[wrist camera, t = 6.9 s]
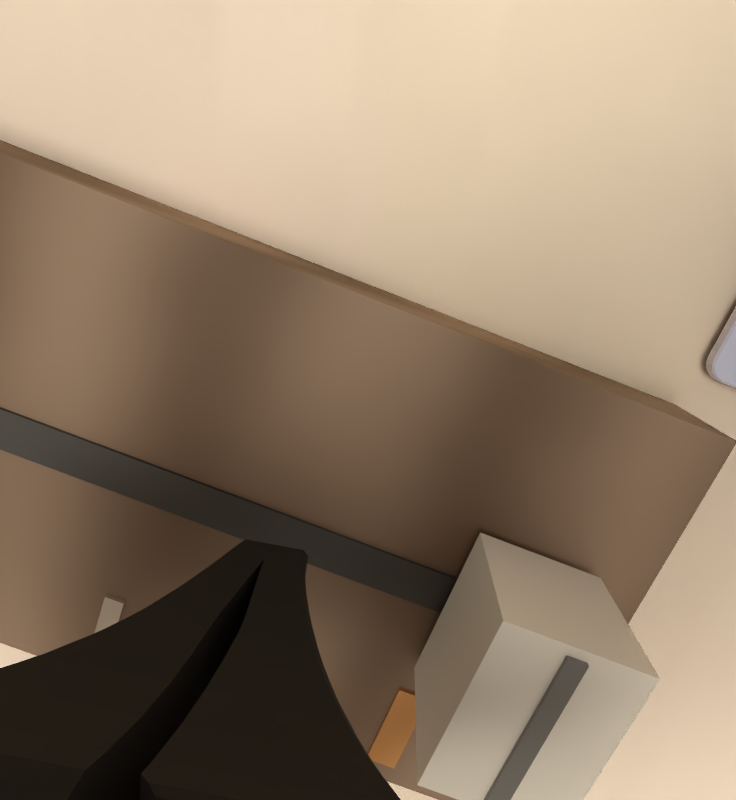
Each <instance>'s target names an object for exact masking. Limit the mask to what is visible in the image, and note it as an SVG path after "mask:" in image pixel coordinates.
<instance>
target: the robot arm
mask: <svg viewBox="0 0 736 800" xmlns="http://www.w3.org/2000/svg"><path fill="white" fill-rule="evenodd" d="M706 370H707V372H708V374H709V375H710V376H711V377H712V378H714V379H715V380H717V381H719V382H721V383H724V384H727V385H729V386H732V387H734V388H736V307H735V309H734V311H733V312H732V314H731V316H730V318H729V319H728V321H727V323H726V325H725V327H724V328H723V330H722V332H721V334H720V336H719V337H718V339H717V341H716V343H715V345H714V346H713V348H712V350H711V352H710V354H709V355H708V358H707V361H706ZM307 562H308V555H307V554H306V552H305V551H304V550H301V549H296V548H290V547H285V546H279V545H274V544H268V543H263V542H258V541H252V540H247V539H245V540H244V541H242V542H241V543H239V544H238V545H236V546H235V547H234V548H232V549H231V550H230V551H228V552H227V553H226V554H224V555H223V556H222V557H220V558H219V559H218V560H216V561H215V562H214V563H212V564H211V565H210V566H208V567H207V568H206V569H204V570H203V571H201V572H200V573H198V574H197V575H196V576H194V577H193V578H191V579H190V580H188V581H187V582H185V583H184V584H183V585H181V586H180V587H178V588H177V589H175V590H173V591H172V592H170V593H169V594H167V595H165V596H164V597H162V598H160V599H159V600H157V601H156V602H154V603H152V604H151V605H149V606H147V607H146V608H144V609H142V610H140V611H139V612H137V613H135V614H133V615H131V616H129V617H127V618H125V619H123V620H121V621H119V622H117V623H115V624H113V625H111V626H109V627H107V628H105V629H103V630H101V631H98V632H96V633H94V634H92V635H89V636H87V637H84V638H82V639H79V640H77V641H74V642H72V643H69V644H67V645H64V646H62V647H59V648H57V649H54V650H52V651H49V652H47V653H45V654H42V655H39V656H36V657H33V658H30V659H27V660H24V661H21V662H18V663H15V664H13V665H10V666H6V667H3V668H0V800H400V798H399V797H398V796H397V794H396V793H395V792H394V791H393V789H392V788H391V787H390V785H389V784H388V783H387V781H386V780H385V779H384V777H383V776H382V775H381V773H380V772H379V770H378V769H377V767H376V766H375V765H374V763H373V762H372V760H371V758H370V757H369V755H368V754H367V752H366V750H365V749H364V747H363V746H362V744H361V742H360V741H359V739H358V737H357V736H356V734H355V732H354V730H353V728H352V726H351V724H350V722H349V720H348V718H347V717H346V715H345V713H344V711H343V709H342V707H341V705H340V703H339V701H338V699H337V697H336V695H335V692H334V690H333V688H332V685H331V683H330V681H329V678H328V675H327V673H326V670H325V667H324V665H323V662H322V659H321V656H320V653H319V650H318V646H317V643H316V639H315V635H314V631H313V628H312V623H311V618H310V613H309V607H308V601H307V594H306V582H305V575H306V568H307Z"/></svg>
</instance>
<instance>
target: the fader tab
mask: <svg viewBox="0 0 736 800" xmlns="http://www.w3.org/2000/svg"><path fill="white" fill-rule="evenodd" d="M414 673H415V716H416V760H417V785H418V786H421V787H424V788H427V789H429V790H432V791H435V792H438V793H441V794H443V795H446V796H449V797H452V798H454V799H457V800H583V799H584V798H585V796H586V795H587V793H588V791H589V790H590V788H591V787H592V785H593V784H594V782H595V780H596V779H597V777H598V776H599V774H600V773H601V771H602V769H603V768H604V766H605V765H606V763H607V762H608V760H609V758H610V757H611V755H612V754H613V752H614V751H615V749H616V747H617V746H618V744H619V743H620V741H621V740H622V738H623V736H624V735H625V733H626V732H627V730H628V729H629V727H630V725H631V724H632V722H633V721H634V719H635V718H636V716H637V714H638V713H639V711H640V710H641V708H642V707H643V705H644V703H645V702H646V700H647V699H648V697H649V696H650V694H651V692H652V691H653V689H654V688H655V686H656V685H657V683H658V681H659V680H660V678H659V676H658V675H657V673H656V671H655V669H654V668H653V666H652V664H651V663H650V661H649V659H648V658H647V656H646V654H645V652H644V651H643V649H642V647H641V646H640V644H639V642H638V641H637V639H636V637H635V635H634V634H633V632H632V630H631V629H630V627H629V625H628V624H627V622H626V620H625V618H624V617H623V615H622V613H621V612H620V610H619V608H618V607H617V605H616V603H615V601H614V600H613V598H612V596H611V595H610V593H609V591H608V590H607V588H606V586H605V584H604V583H603V581H602V579H601V578H600V577H597V576H594V575H592V574H589V573H586V572H584V571H581V570H578V569H576V568H573V567H570V566H568V565H565V564H562V563H560V562H557V561H555V560H552V559H549V558H547V557H544V556H541V555H539V554H536V553H533V552H531V551H528V550H525V549H523V548H520V547H517V546H515V545H512V544H510V543H507V542H504V541H502V540H499V539H496V538H494V537H491V536H488V535H486V534H483V533H480V534H479V536H478V538H477V540H476V542H475V544H474V546H473V548H472V550H471V552H470V554H469V556H468V559H467V561H466V563H465V565H464V567H463V569H462V571H461V573H460V575H459V577H458V579H457V581H456V583H455V585H454V587H453V589H452V591H451V594H450V596H449V598H448V600H447V602H446V604H445V606H444V608H443V610H442V612H441V614H440V616H439V618H438V620H437V622H436V624H435V626H434V628H433V631H432V633H431V635H430V637H429V639H428V641H427V643H426V645H425V647H424V649H423V651H422V653H421V655H420V657H419V659H418V661H417V663H416V665H415V668H414Z"/></svg>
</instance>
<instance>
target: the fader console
mask: <svg viewBox="0 0 736 800" xmlns="http://www.w3.org/2000/svg"><path fill="white" fill-rule="evenodd" d="M735 444H736V441H735V440H734V439H732V438H730V437H729V436H727V435H725V434H724V433H722V432H720V431H719V430H717V429H715V428H713V427H712V426H710V425H708V424H707V423H705V422H703V421H702V420H700V419H698V418H697V417H695V416H693V415H691V414H690V413H688V412H686V411H685V410H683V409H681V408H680V407H678V406H676V405H674V404H672V403H669V402H667V401H664V400H661V399H659V398H656V397H654V396H651V395H649V394H646V393H644V392H641V391H638V390H636V389H633V388H631V387H628V386H626V385H623V384H621V383H618V382H616V381H613V380H610V379H608V378H605V377H603V376H600V375H598V374H595V373H593V372H590V371H587V370H585V369H582V368H580V367H577V366H575V365H572V364H570V363H567V362H564V361H562V360H559V359H557V358H554V357H552V356H549V355H547V354H544V353H542V352H539V351H536V350H534V349H531V348H529V347H526V346H524V345H521V344H519V343H516V342H513V341H511V340H508V339H506V338H503V337H501V336H498V335H496V334H493V333H490V332H488V331H485V330H483V329H480V328H478V327H475V326H473V325H470V324H468V323H465V322H462V321H460V320H457V319H455V318H452V317H450V316H447V315H445V314H442V313H439V312H437V311H434V310H432V309H429V308H427V307H424V306H422V305H419V304H417V303H414V302H411V301H409V300H406V299H404V298H401V297H399V296H396V295H394V294H391V293H388V292H386V291H383V290H381V289H378V288H376V287H373V286H371V285H368V284H365V283H363V282H360V281H358V280H355V279H353V278H350V277H348V276H345V275H343V274H340V273H337V272H335V271H332V270H330V269H327V268H325V267H322V266H320V265H317V264H314V263H312V262H309V261H307V260H304V259H302V258H299V257H297V256H294V255H291V254H289V253H286V252H284V251H281V250H279V249H276V248H274V247H271V246H269V245H266V244H263V243H261V242H258V241H256V240H253V239H251V238H248V237H246V236H243V235H240V234H238V233H235V232H233V231H230V230H228V229H225V228H223V227H220V226H217V225H215V224H212V223H210V222H207V221H205V220H202V219H200V218H197V217H195V216H192V215H189V214H187V213H184V212H182V211H179V210H177V209H174V208H172V207H169V206H166V205H164V204H161V203H159V202H156V201H154V200H151V199H149V198H146V197H143V196H141V195H138V194H136V193H133V192H131V191H128V190H126V189H123V188H121V187H118V186H115V185H113V184H110V183H108V182H105V181H103V180H100V179H98V178H95V177H92V176H90V175H87V174H85V173H82V172H80V171H77V170H75V169H72V168H69V167H67V166H64V165H62V164H59V163H57V162H54V161H52V160H49V159H47V158H44V157H41V156H39V155H36V154H34V153H31V152H29V151H26V150H24V149H21V148H18V147H16V146H13V145H11V144H8V143H6V142H3V141H1V140H0V643H3V644H6V645H8V646H11V647H14V648H17V649H20V650H22V651H25V652H28V653H31V654H34V655H36V656H39V655H42V654H45V653H47V652H49V651H52V650H54V649H57V648H59V647H62V646H64V645H67V644H69V643H72V642H74V641H77V640H79V639H82V638H84V637H87V636H89V635H92V634H94V633H96V632H98V631H101V630H103V629H105V628H107V627H109V626H111V625H113V624H115V623H117V622H119V621H121V620H123V619H125V618H127V617H129V616H131V615H133V614H135V613H137V612H139V611H140V610H142V609H144V608H146V607H147V606H149V605H151V604H152V603H154V602H156V601H157V600H159V599H160V598H162V597H164V596H165V595H167V594H169V593H170V592H172V591H173V590H175V589H177V588H178V587H180V586H181V585H183V584H184V583H185V582H187V581H188V580H190V579H191V578H193V577H194V576H196V575H197V574H198V573H200V572H201V571H203V570H204V569H206V568H207V567H208V566H210V565H211V564H212V563H214V562H215V561H216V560H218V559H219V558H220V557H222V556H223V555H224V554H226V553H227V552H228V551H230V550H231V549H232V548H234V547H235V546H236V545H238V544H239V543H241V542H242V541H244V540H245V539H247V540H252V541H258V542H263V543H268V544H274V545H279V546H285V547H290V548H296V549H301V550H304V551H305V552H306V554H307V555H308V562H307V568H306V575H305V582H306V594H307V601H308V607H309V613H310V618H311V623H312V628H313V631H314V635H315V639H316V643H317V646H318V650H319V653H320V656H321V659H322V662H323V665H324V667H325V670H326V673H327V675H328V678H329V681H330V683H331V685H332V688H333V690H334V692H335V695H336V697H337V699H338V701H339V703H340V705H341V707H342V709H343V711H344V713H345V715H346V717H347V718H348V720H349V722H350V724H351V726H352V728H353V730H354V732H355V734H356V736H357V737H358V739H359V741H360V742H361V744H362V746H363V747H364V749H365V750H366V752H367V754H368V755H369V757H370V758H371V760H372V762H373V763H374V765H375V766H376V767H377V769H378V770H379V772H380V773H381V775H382V776H383V777H384V779H385V780H386V781H388V782H391V783H394V784H397V785H399V786H402V787H405V788H408V789H411V790H413V791H416V792H419V793H422V794H425V795H427V796H430V797H433V798H436V799H438V800H457V799H454V798H452V797H449V796H446V795H443V794H441V793H438V792H435V791H432V790H429V789H427V788H424V787H421V786H418V785H417V760H416V716H415V673H414V668H415V665H416V663H417V661H418V659H419V657H420V655H421V653H422V651H423V649H424V647H425V645H426V643H427V641H428V639H429V637H430V635H431V633H432V631H433V628H434V626H435V624H436V622H437V620H438V618H439V616H440V614H441V612H442V610H443V608H444V606H445V604H446V602H447V600H448V598H449V596H450V594H451V591H452V589H453V587H454V585H455V583H456V581H457V579H458V577H459V575H460V573H461V571H462V569H463V567H464V565H465V563H466V561H467V559H468V556H469V554H470V552H471V550H472V548H473V546H474V544H475V542H476V540H477V538H478V536H479V534H480V533H483V534H486V535H488V536H491V537H494V538H496V539H499V540H502V541H504V542H507V543H510V544H512V545H515V546H517V547H520V548H523V549H525V550H528V551H531V552H533V553H536V554H539V555H541V556H544V557H547V558H549V559H552V560H555V561H557V562H560V563H562V564H565V565H568V566H570V567H573V568H576V569H578V570H581V571H584V572H586V573H589V574H592V575H594V576H597V577H600V578H601V579H602V581H603V583H604V584H605V586H606V588H607V590H608V591H609V593H610V595H611V596H612V598H613V600H614V601H615V603H616V605H617V607H618V608H619V610H620V612H621V613H622V615H623V617H624V618H625V620H626V622H627V624H628V623H629V621H630V620H631V618H632V616H633V615H634V613H635V611H636V610H637V608H638V606H639V605H640V603H641V601H642V600H643V598H644V596H645V595H646V593H647V591H648V590H649V588H650V586H651V585H652V583H653V581H654V580H655V578H656V576H657V575H658V573H659V571H660V570H661V568H662V566H663V565H664V563H665V561H666V560H667V558H668V556H669V555H670V553H671V551H672V550H673V548H674V546H675V545H676V543H677V541H678V540H679V538H680V536H681V535H682V533H683V531H684V530H685V528H686V526H687V524H688V523H689V521H690V519H691V518H692V516H693V514H694V513H695V511H696V509H697V508H698V506H699V504H700V503H701V501H702V499H703V498H704V496H705V494H706V493H707V491H708V489H709V488H710V486H711V484H712V483H713V481H714V479H715V478H716V476H717V474H718V473H719V471H720V469H721V468H722V466H723V464H724V463H725V461H726V459H727V458H728V456H729V454H730V453H731V451H732V449H733V448H734V446H735Z"/></svg>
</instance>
